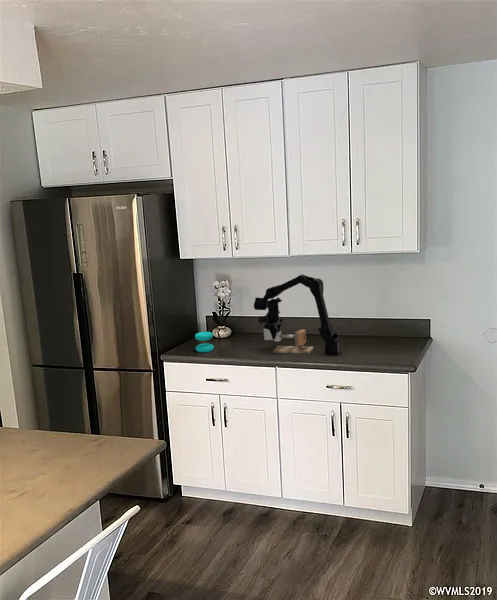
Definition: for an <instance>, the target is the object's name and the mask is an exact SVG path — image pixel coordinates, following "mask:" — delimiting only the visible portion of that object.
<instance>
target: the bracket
mask: <svg viewBox="0 0 497 600" xmlns="http://www.w3.org/2000/svg"><path fill="white" fill-rule="evenodd" d="M299 331H300V330H296V331H295V332H294V334H295V338H294V343H295V345H277V346H276V347H275V348H274V349H273V350H272V353H274V354H275V353H276V354H280V353H281V354H308V355H309V354H311V353H312V352H313V350H314V346H307V345H306V346H304V345H299V339H298V332H299Z"/></svg>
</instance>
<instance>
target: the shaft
mask: <svg viewBox="0 0 497 600" xmlns="http://www.w3.org/2000/svg"><path fill="white" fill-rule="evenodd" d="M282 339H295V333H294V334H291V333H288V334H287V333H285V334H284V333H282V330H280V331H277V334H276V337H275V339H274V340H273V341H274V342H280V341H282Z"/></svg>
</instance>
